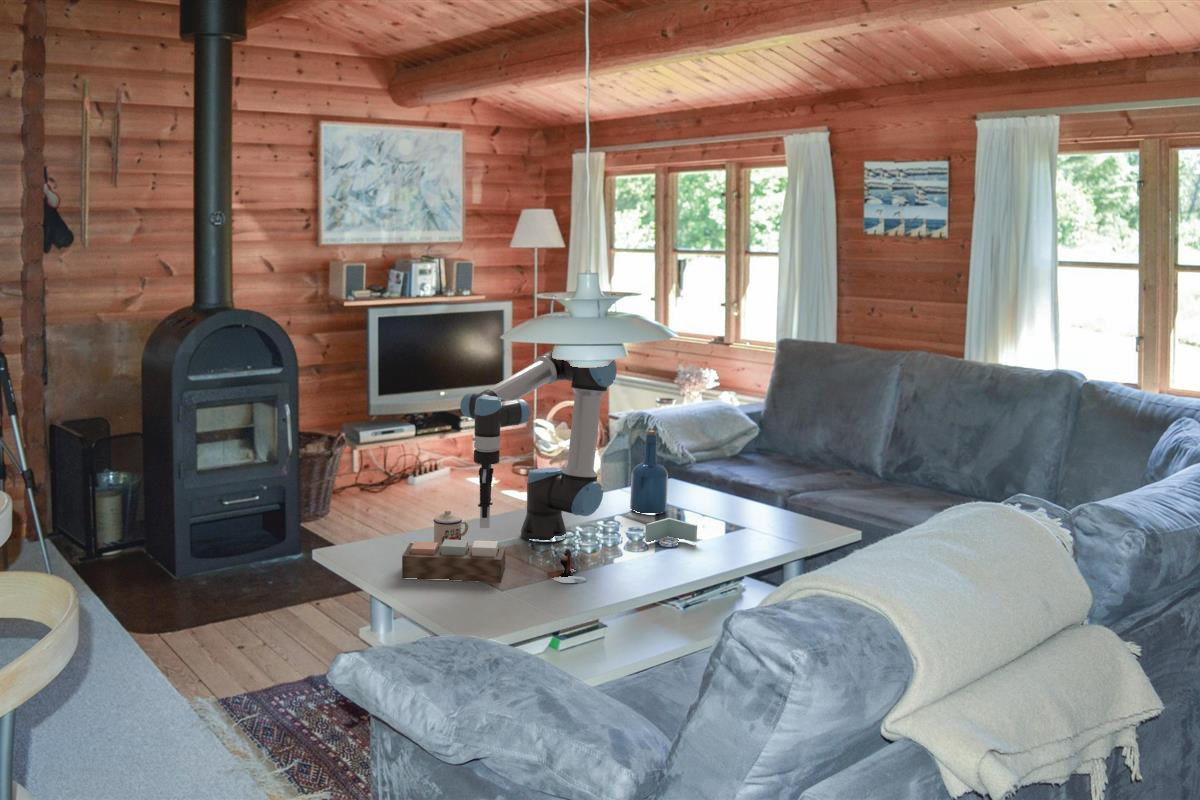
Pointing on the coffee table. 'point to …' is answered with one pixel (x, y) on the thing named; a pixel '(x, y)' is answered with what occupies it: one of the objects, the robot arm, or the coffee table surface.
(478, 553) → the cream key
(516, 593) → the coffee table surface
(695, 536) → the right angle wall
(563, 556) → the figurine
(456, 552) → the slate key
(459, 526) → the teacup with lid
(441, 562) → the frame
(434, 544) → the pink square block
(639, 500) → the wine bottle
